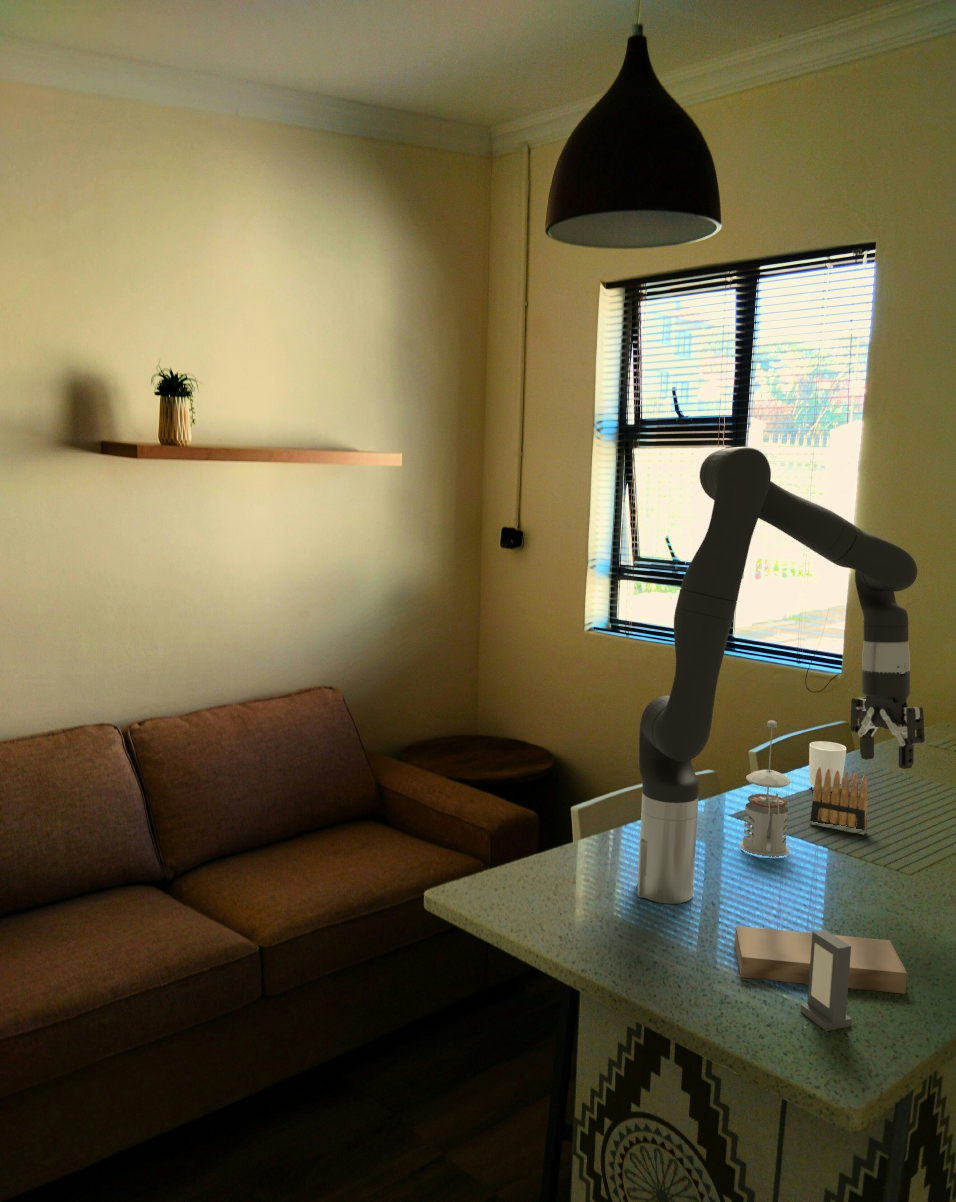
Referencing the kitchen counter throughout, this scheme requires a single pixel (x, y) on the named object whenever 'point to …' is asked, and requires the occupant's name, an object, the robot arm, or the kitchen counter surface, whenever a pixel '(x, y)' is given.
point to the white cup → (826, 760)
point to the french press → (766, 813)
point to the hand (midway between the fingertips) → (886, 763)
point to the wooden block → (791, 956)
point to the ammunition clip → (839, 801)
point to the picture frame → (828, 982)
